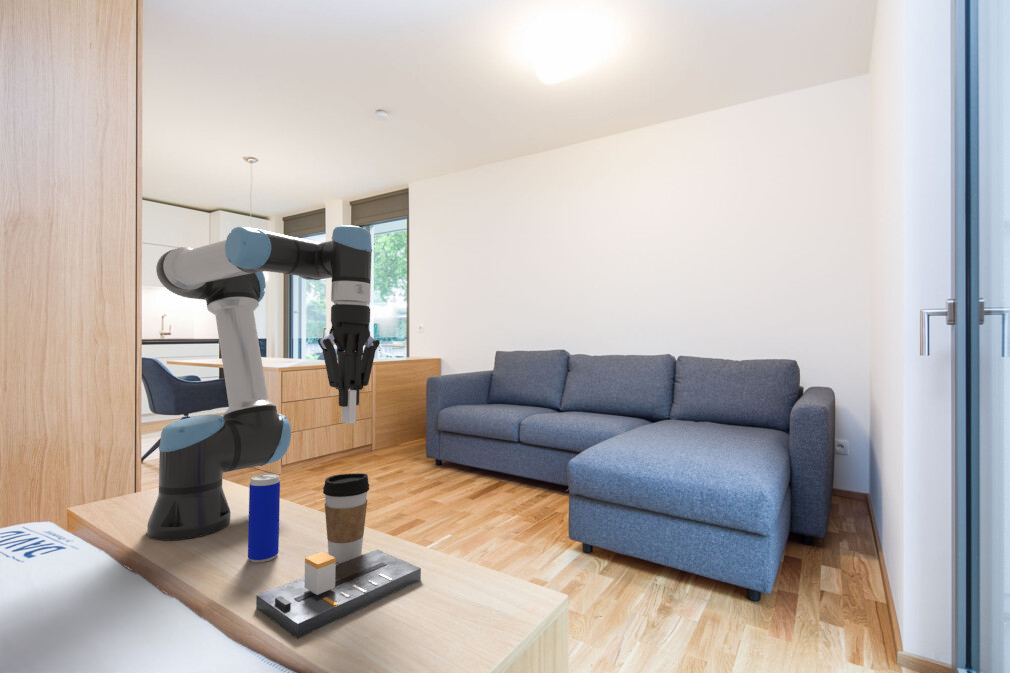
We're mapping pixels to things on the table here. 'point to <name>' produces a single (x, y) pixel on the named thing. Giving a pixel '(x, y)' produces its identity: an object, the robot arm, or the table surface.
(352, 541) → the coffee cup
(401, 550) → the table surface
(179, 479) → the robot arm
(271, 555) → the beverage can
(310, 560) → the fader tab
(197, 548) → the table surface
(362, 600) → the panel
